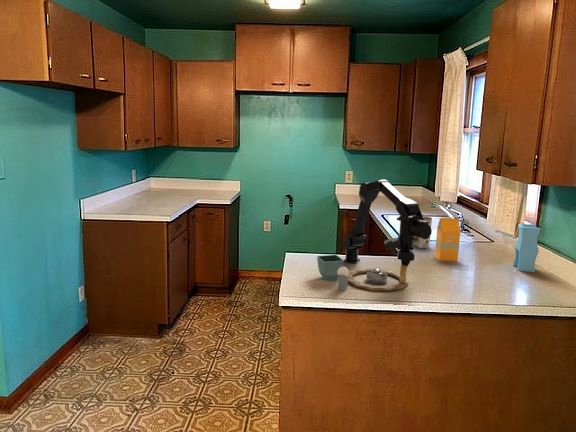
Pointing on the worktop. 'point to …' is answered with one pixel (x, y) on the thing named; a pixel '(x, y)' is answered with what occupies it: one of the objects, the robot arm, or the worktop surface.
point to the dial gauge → (342, 278)
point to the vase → (526, 247)
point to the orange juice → (447, 239)
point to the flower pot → (329, 266)
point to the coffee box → (419, 241)
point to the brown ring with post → (400, 285)
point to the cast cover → (376, 276)
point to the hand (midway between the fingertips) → (403, 270)
